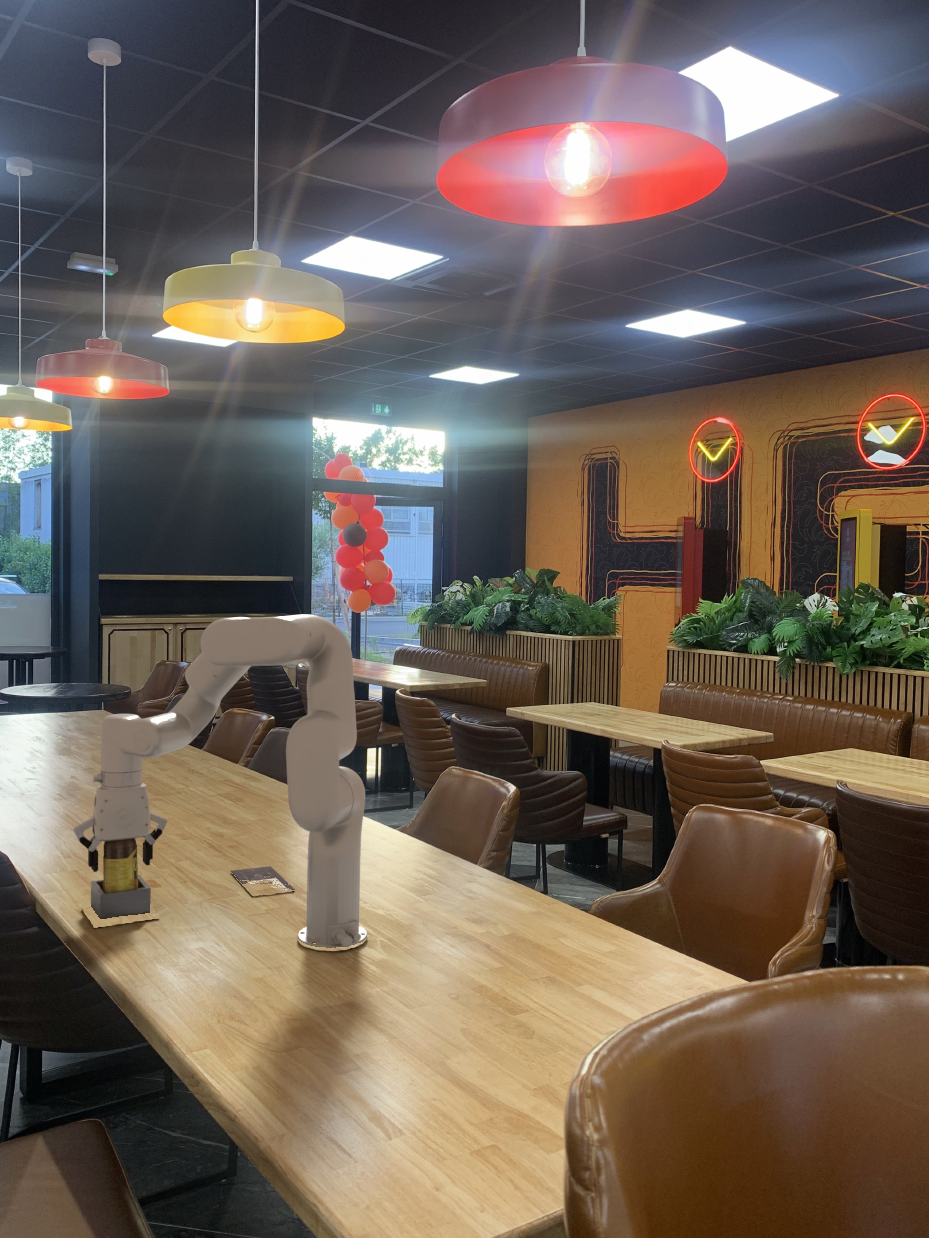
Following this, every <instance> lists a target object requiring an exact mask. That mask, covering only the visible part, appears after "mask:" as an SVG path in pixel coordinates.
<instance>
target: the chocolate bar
mask: <svg viewBox="0 0 929 1238" xmlns="http://www.w3.org/2000/svg"><path fill="white" fill-rule="evenodd" d="M231 872H232V873H233V875H235V876H236V878H237V879H238V880H239V881H240V880H241V881H240V882H241V883H242V884H246V883H250V884H255V882H256V881H253V880H259V881H263V880H270V882H269V881H266V882H268V883H269V884H273V885H274V884H276V886H277V884H280V885H282V886H280V885H278V888H279V887H280V888H281V889H283V888H289V889H291V890H295V891H296V889H295V888H294V887H293V886H292V885H291V884H290V883H289V882H288V881H287V880H285V879H284V877H282V875H280V874H279V873H278V872H277V871H276V870H275V869H274V868H273V867H272V866H271V865H270V866H261V867H253V868H243V869H236V870H230V873H231ZM233 875H232V876H233ZM264 876H265V877H266V878H265V877H264ZM269 876H270V877H269ZM275 877H276V878H275ZM242 880H249V881H251V880H252V882H254V883H252V882H247V881H242ZM273 880H274V881H273ZM276 880H278V881H276ZM259 881H257V882H256V884H258V883H260V884H268V883H264V882H263V883H262V882H259ZM271 881H272V882H271ZM279 881H280V882H279ZM275 882H276V883H275ZM285 884H286V885H285ZM288 884H289V885H288ZM271 887H273V886H271ZM273 888H277V887H273ZM283 890H284V889H283ZM285 891H288V890H287V889H285Z"/></svg>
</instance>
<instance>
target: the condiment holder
mask: <svg viewBox="0 0 929 1238" xmlns="http://www.w3.org/2000/svg"><path fill="white" fill-rule="evenodd" d="M151 893H152V892H151V887H150V886H149V885H148V883H147V882H146V881H145V880H144V879H143V877H142V876H141V875H140V874H138V889H130V890H123V891H115V892H108V893H104V879H99V880H91V881H90V904H91V907H92V908H93V910H94V911H95V913H96V914H97V915H98V917H99V918H100V919H107V918H112V917H119V916H128V915H138V914H145V913H150V904H151Z"/></svg>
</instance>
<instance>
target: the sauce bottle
mask: <svg viewBox="0 0 929 1238" xmlns="http://www.w3.org/2000/svg"><path fill="white" fill-rule="evenodd" d="M136 840H137V839H136V838H133V839H124V840H115V841H104V842H103V843H104V844H103V856H102V858H103V860H102V862H103V865H102V866H103V868H102V869H103V871H102V872H103V873H102V874H103V876H102V877H103V878H102V880H104V893H108V892H115V891H123V890H130V889H138V875H139V872H138V871H139V870H138V869H139V867H138V863H139V862H138V844H137V841H136Z"/></svg>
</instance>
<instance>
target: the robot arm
mask: <svg viewBox="0 0 929 1238" xmlns="http://www.w3.org/2000/svg"><path fill="white" fill-rule="evenodd" d="M200 649H201V653H200V654H199V655H198V656H197V657H196V658H195V659H194V660H193V661H192V662H191V663H190V664H189V666H187V668H186V669H185V672H184V677H185V681H186V683H187V685H188V686H189V687H188V689H187V691H186V692H185V693H184V695H183V696H182V697H181V698H180V700H179V701H178V702H177V703H176V704H175V705H174V706H173V708H171V709H170V710H169V711H168V712H166V713H162V714H157V715H153V716H149V717H145V718H141V717H140V716H139V715H138V714H134V713H116V714H115V713H114V714H109V715H105V716H104V717H103V719H102V721H101V728H100V731H101V732H100V735H101V736H100V769H99V773H97V774H92V782H93V783H96V782H97V783H99V784H100V785H98V786H96V787H97V788H96V792H95V797H94V803H93V812H92V817H90V818H88V819H86V820H85V821H83V822H82V823H81V822H80V824H78V825H76V826H75V827H73V829H72V831H73V833H74V835H75V837H76V838H77V840H78V842H79V843H80V844H81V845H82V846H84V847H85V848H86V849H87V850H88V851H87V852H88V855H87V857H88V858H87V861H88V863H87V865H88V866H87V867H89V868H91V870H92V871H93V872H94V873H97V872H98V871H99V851H98V850H97V848H98V846H99V845H100V844H101V843H102V842H105V841H115V840H124V839H133V838H135V839H139V838H140V839H141V838H143V839H144V841H143V842H142V862H143V864H144V865H146V866H150V865H151V860H153V856H154V854H153V853H154V850H153V849H154V844H155V843H156V841H157V839H158V838H159V837H161V836H162V834H163V831H164V829H165V828H166V826H167V824H168V820H167V818H164V817H162V816H160V815H157V814H155V813H152V812H151V809H150V807H151V806H150V799H149V790H148V787H147V784H145V783H143V758H144V759H153V758H156V757H161V756H163V755H166V754H169V753H171V752H177V751H179V750H183V748H185V747H187V746H188V745H189V744H190V743H192V742H193V741H194V740H195V739H196V737H197V736H198V735H199V734H200V733H201V732H202V731H203V730H204V729H205V728H206V727H207V725H209V723H210V722H211V721H212V720H213V718H214V716H215V714H216V713H217V711H218V709H219V707H220V705H221V701H222V700H223V698H224V697H225V695H227V693H229V692H230V690H231V689H232V688H233V687H234V685H236V683H238V681H240V679H241V678H242V677H243V676H244V675H245V673H247V671H248V670H249V669H250V668H252V667H261V666H263V667H264V666H265V667H267V666H268V667H269V666H286V665H292V664H296V663H301V662H306V663H307V664H308V675H307V680H306V697H307V698H306V699H307V712H306V713H307V714H306V715H303V716H302V717H300V718H299V719H298V720H297V721H296V722H294V724H293V725H292V727H291V728H290V730H289V732H288V735H287V738H286V744H285V745H286V746H285V756H286V757H285V760H286V777H287V779H286V780H287V797H288V798H287V799H288V807H289V811H290V814H291V817H292V819H293V820H294V821H295V823H296V825H298V826H299V827H300V828H301V829H302V830H305V831H307V832H309V833H308V841H307V876H306V877H307V879H306V880H307V881H306V882H307V883H306V884H307V885H306V926H305V927H303V928H301V929H300V930H299V932H298V933H297V940H298V939H299V940H300V941H301V942H303V943H305V944H307V945H310V946H315V947H326V948H333V947H334V948H336V947H349V946H351V945H355V944H357V943H361V942H363V941H364V940H365V939H366V938H367V939H368V931H367V930H366V929H365V928H364V927H363V926H361V925H360V899H361V898H360V896H361V893H360V891H361V854H362V853H361V847H362V828H363V820H364V813H365V806H366V789H365V785H364V783H363V782H364V781H363V780H362V778H361V777H360V775H359V774H358V773H357V772H356V771H354V770H353V769H351V768H349V767H348V766H347V767H346V766H340V761H341V760H342V759H344V758H345V757H347V756H348V755H351V753H352V752H353V751H354V749H355V747H356V744H357V740H358V733H357V732H358V731H357V730H358V729H357V719H356V718H357V715H356V699H355V698H356V697H355V696H356V695H355V686H354V685H355V683H354V662H353V660H354V658H353V653H352V649H351V645H350V643H349V640H348V638H347V636H346V635H345V633H344V631H343V630H342V629H341V628H340V627H339V626H337V625H336V624H335V623H334V622H332V621H331V620H329V619H327V618H325V617H322V616H319V615H315V614H304V613H303V614H292V615H284V616H282V615H281V616H270V617H269V616H268V617H255V618H254V617H245V616H237V617H236V616H235V617H224V618H219V619H216V620H214V621H213V622H211V623H210V624H208V625H207V626H206V628H205V629H204V630H203V632H202V634H201V637H200ZM151 822H154V823H156V824H157V825H156V827H155V828H154V829H153V830H152V831H151ZM91 827H92V834H93V835H92V836H91V838H90V839H88V838H87V837H86V836H85V834H84V832H85V831H87V830H88V829H91ZM150 832H151V833H150ZM313 943H316V944H313Z"/></svg>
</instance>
